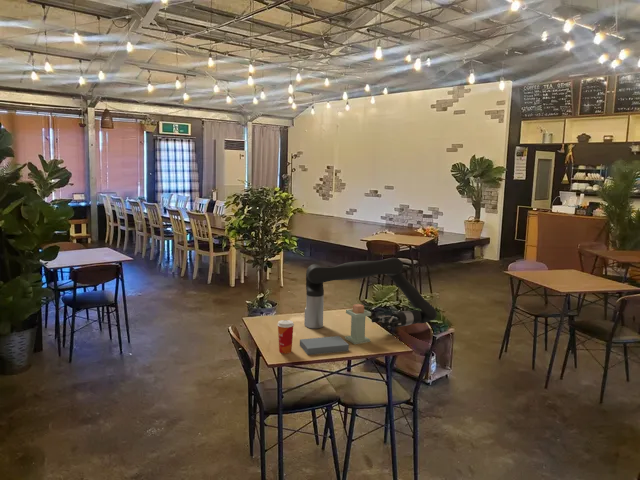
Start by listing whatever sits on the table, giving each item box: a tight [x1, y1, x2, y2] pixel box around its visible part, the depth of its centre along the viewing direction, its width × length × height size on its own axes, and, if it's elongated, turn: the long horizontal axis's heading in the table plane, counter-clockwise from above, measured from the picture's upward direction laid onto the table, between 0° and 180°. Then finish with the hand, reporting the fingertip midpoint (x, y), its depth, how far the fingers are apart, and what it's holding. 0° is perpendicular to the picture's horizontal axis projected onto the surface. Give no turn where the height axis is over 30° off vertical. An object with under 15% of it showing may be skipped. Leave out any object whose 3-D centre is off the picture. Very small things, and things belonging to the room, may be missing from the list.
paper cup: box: [277, 319, 295, 355], centre depth 231 cm, size 8×8×14 cm
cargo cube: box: [352, 303, 365, 314], centre depth 248 cm, size 4×4×4 cm
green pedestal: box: [344, 308, 372, 345], centre depth 249 cm, size 9×9×15 cm
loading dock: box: [299, 335, 350, 356], centre depth 237 cm, size 20×13×3 cm, turn 108°
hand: (376, 322), depth 254 cm, fingers open, 8 cm apart
